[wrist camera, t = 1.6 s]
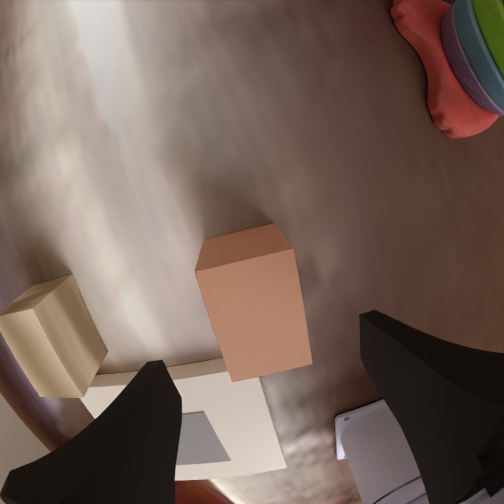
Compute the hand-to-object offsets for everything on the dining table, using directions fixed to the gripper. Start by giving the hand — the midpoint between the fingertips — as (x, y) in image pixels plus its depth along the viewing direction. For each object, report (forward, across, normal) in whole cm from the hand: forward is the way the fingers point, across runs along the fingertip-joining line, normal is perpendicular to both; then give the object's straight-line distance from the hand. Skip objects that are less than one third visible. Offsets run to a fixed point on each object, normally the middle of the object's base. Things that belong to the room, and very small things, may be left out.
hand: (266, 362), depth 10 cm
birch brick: (+8, +13, 0) cm, 15 cm away
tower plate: (+8, +8, +12) cm, 16 cm away
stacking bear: (+8, -18, -12) cm, 23 cm away
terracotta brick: (+8, 0, 0) cm, 8 cm away
